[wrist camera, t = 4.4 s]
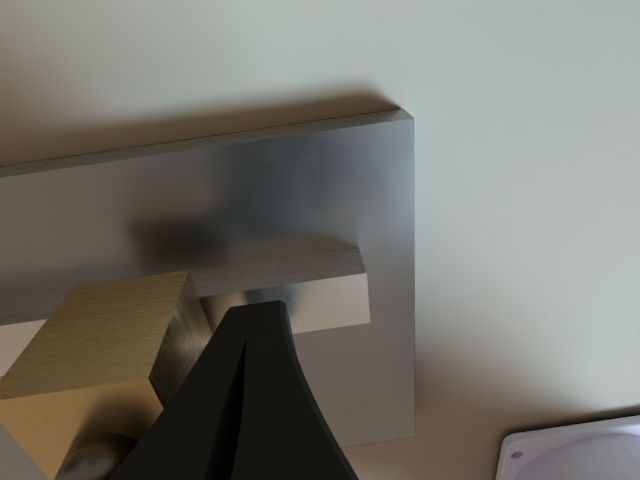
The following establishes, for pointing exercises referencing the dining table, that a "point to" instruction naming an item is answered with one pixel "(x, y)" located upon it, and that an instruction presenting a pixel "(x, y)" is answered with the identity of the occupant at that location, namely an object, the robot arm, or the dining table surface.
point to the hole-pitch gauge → (238, 250)
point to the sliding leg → (102, 372)
